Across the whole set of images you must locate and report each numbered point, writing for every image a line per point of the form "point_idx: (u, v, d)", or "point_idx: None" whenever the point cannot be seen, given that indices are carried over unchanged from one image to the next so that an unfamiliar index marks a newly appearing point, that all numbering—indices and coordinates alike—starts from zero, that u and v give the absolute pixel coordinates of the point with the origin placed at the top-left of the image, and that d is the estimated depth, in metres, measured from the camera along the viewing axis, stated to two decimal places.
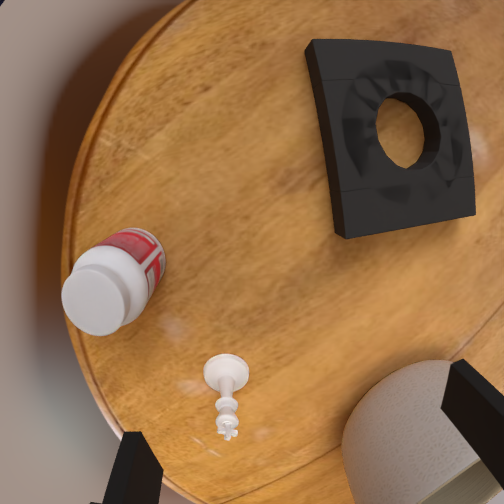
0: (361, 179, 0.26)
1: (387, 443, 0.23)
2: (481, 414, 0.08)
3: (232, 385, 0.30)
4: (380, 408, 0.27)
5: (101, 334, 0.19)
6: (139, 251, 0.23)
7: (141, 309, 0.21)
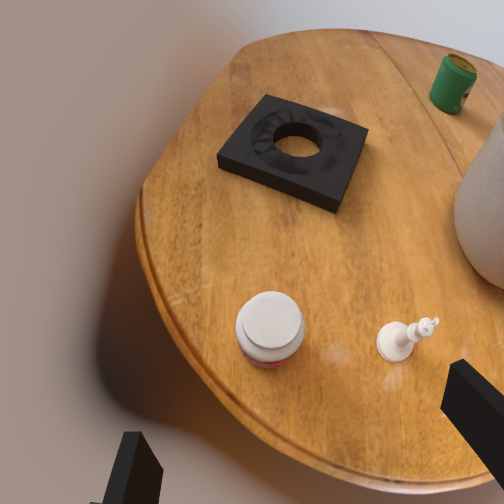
0: (310, 176, 0.40)
1: (492, 220, 0.28)
2: (481, 414, 0.08)
3: (404, 331, 0.31)
4: (470, 231, 0.32)
5: (296, 331, 0.24)
6: None
7: (301, 312, 0.27)
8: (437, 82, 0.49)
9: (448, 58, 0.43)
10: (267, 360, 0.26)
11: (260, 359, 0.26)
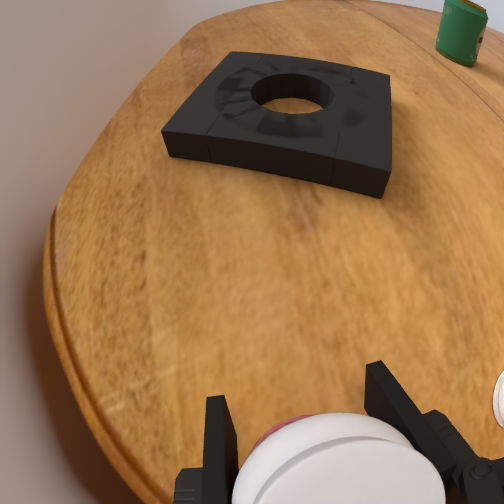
0: (327, 138, 0.22)
1: None
2: (389, 417, 0.10)
3: None
4: None
5: None
6: (297, 418, 0.10)
7: (411, 445, 0.07)
8: (445, 28, 0.34)
9: None
10: None
11: None
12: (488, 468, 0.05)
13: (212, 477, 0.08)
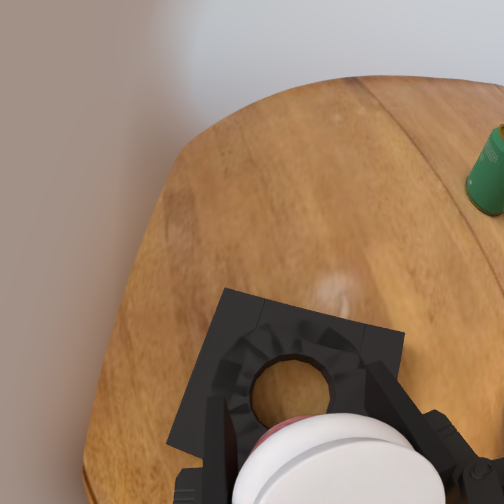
0: None
1: None
2: (389, 417, 0.10)
3: None
4: None
5: None
6: (297, 419, 0.10)
7: (411, 445, 0.07)
8: (483, 175, 0.33)
9: (502, 139, 0.28)
10: None
11: None
12: (488, 468, 0.05)
13: (212, 477, 0.08)
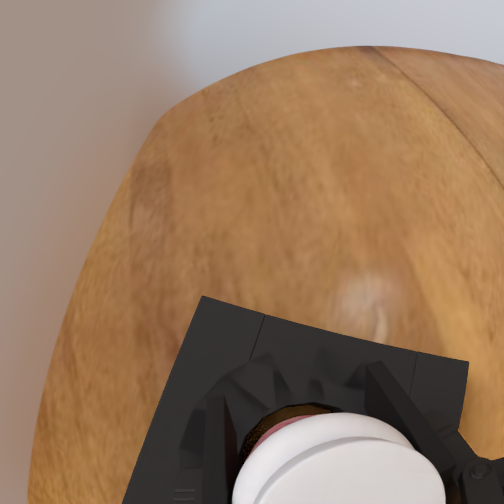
0: None
1: None
2: (389, 417, 0.10)
3: None
4: None
5: None
6: (297, 418, 0.10)
7: (411, 445, 0.07)
8: None
9: None
10: None
11: None
12: (488, 468, 0.05)
13: (212, 477, 0.08)
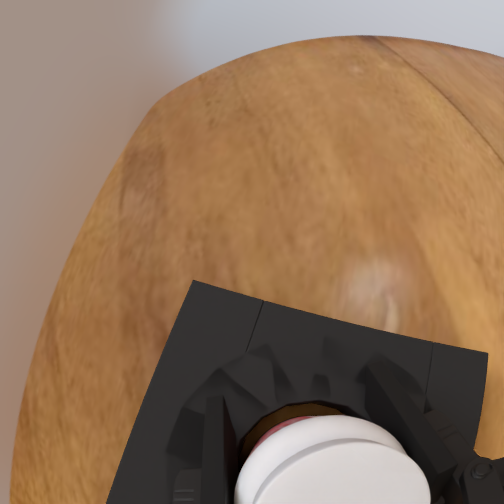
0: None
1: None
2: (390, 417, 0.10)
3: None
4: None
5: None
6: (295, 420, 0.11)
7: (401, 446, 0.08)
8: None
9: None
10: None
11: None
12: (489, 468, 0.05)
13: (211, 477, 0.08)
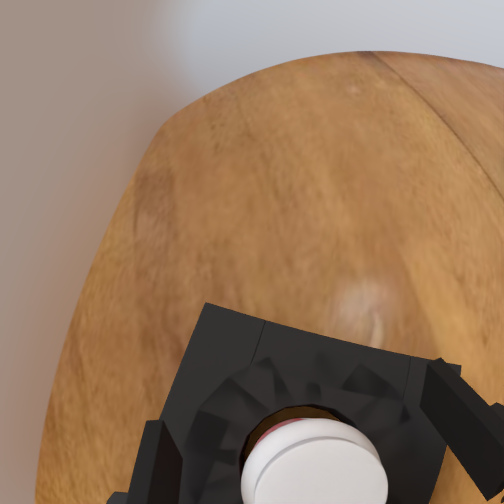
0: None
1: None
2: (456, 413, 0.09)
3: None
4: None
5: None
6: (289, 421, 0.14)
7: (371, 444, 0.11)
8: None
9: None
10: None
11: None
12: None
13: None
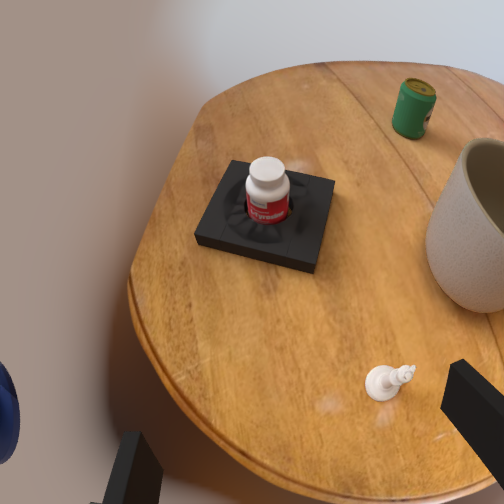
0: (284, 243, 0.44)
1: (461, 260, 0.32)
2: (481, 414, 0.08)
3: (388, 375, 0.34)
4: (442, 269, 0.36)
5: (282, 172, 0.40)
6: None
7: (285, 174, 0.44)
8: (398, 110, 0.56)
9: (405, 85, 0.51)
10: (268, 199, 0.42)
11: (264, 200, 0.42)
12: None
13: None
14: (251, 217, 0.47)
